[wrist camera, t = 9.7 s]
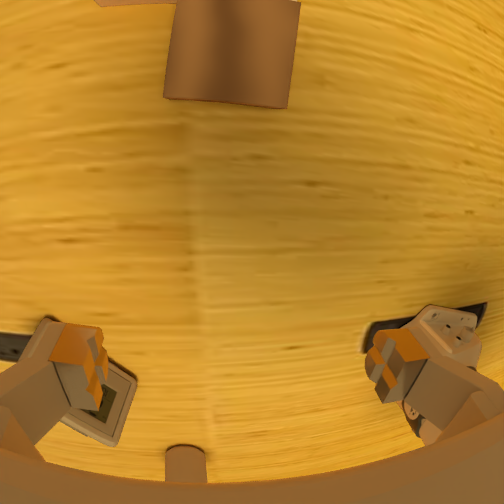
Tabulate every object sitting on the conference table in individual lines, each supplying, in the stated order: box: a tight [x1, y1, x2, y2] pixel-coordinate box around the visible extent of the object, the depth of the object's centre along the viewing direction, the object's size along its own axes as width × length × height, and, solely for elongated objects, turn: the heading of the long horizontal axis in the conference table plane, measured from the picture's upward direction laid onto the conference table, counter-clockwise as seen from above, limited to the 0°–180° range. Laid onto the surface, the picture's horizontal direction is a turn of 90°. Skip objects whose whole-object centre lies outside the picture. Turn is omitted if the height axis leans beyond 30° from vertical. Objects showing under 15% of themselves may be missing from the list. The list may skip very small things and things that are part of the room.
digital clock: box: [17, 318, 137, 447], centre depth 33 cm, size 16×9×11 cm, turn 30°
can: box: [165, 446, 207, 483], centre depth 45 cm, size 8×8×12 cm
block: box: [163, 0, 301, 109], centre depth 23 cm, size 10×10×5 cm
